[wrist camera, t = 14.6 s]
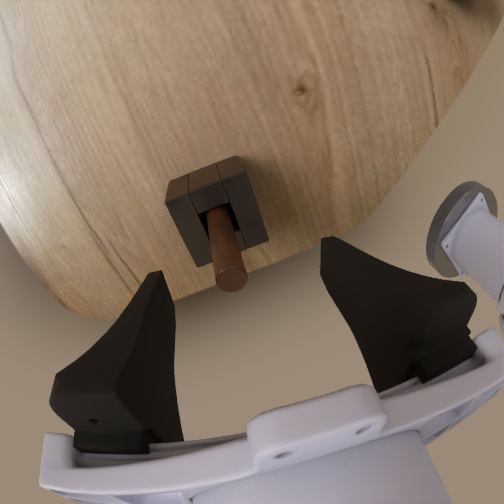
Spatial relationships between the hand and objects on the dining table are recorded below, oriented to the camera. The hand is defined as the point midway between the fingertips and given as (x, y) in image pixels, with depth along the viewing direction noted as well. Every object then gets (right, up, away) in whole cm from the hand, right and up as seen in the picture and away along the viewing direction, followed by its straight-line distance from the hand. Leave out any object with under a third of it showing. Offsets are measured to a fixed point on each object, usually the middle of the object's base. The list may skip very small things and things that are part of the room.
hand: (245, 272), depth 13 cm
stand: (-2, +5, +8) cm, 10 cm away
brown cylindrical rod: (-3, +5, +8) cm, 10 cm away
